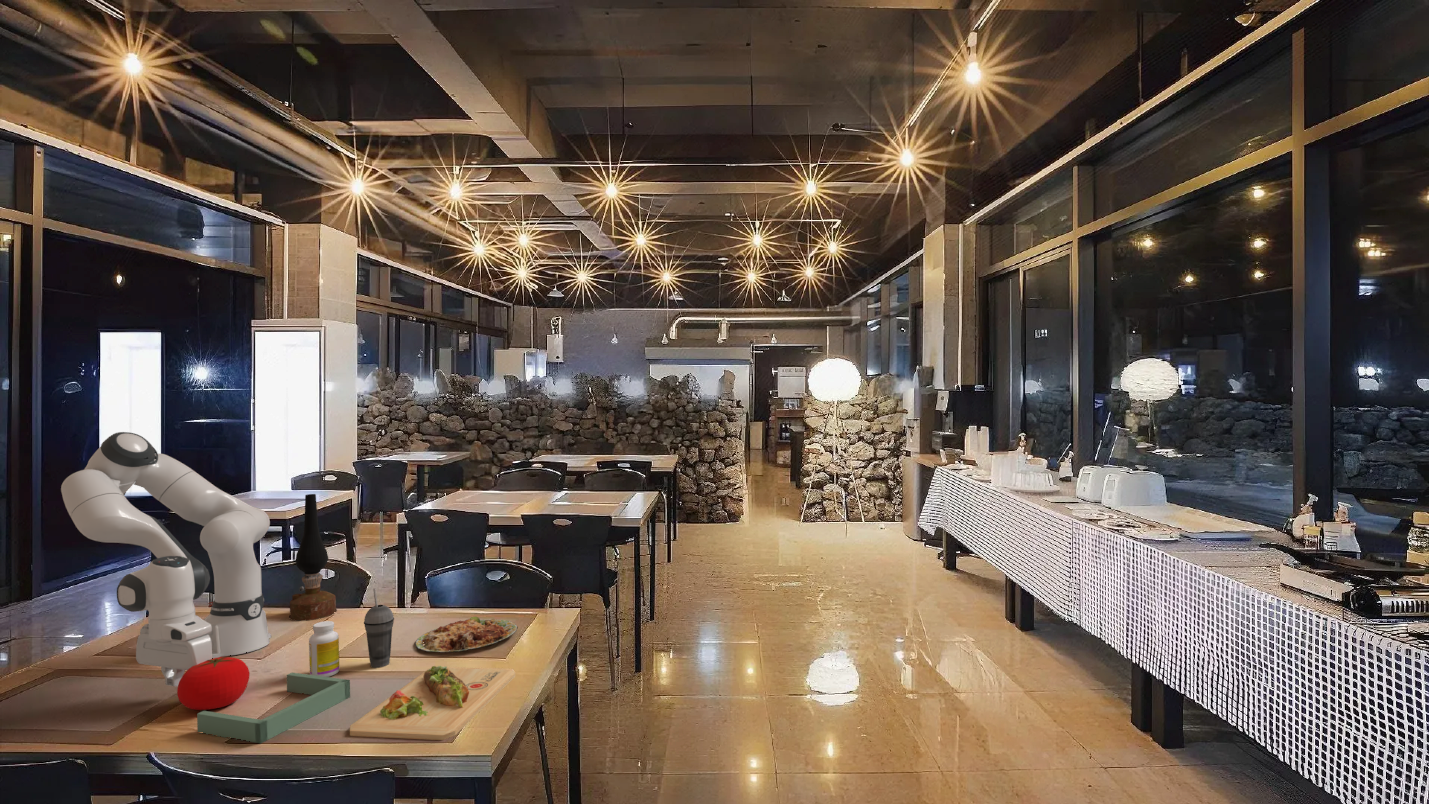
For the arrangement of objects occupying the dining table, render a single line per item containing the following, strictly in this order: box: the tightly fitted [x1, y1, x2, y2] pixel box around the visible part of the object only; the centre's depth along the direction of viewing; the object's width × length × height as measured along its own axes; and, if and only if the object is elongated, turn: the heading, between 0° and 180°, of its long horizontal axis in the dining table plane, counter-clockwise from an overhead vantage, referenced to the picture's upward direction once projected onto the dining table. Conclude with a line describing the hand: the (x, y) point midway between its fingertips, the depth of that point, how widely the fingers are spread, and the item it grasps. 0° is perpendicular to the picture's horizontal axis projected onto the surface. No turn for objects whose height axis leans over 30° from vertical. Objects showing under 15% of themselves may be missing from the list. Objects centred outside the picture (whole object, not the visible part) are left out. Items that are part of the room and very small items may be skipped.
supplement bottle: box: [308, 620, 340, 677], centre depth 180 cm, size 7×7×13 cm
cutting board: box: [349, 665, 516, 741], centre depth 162 cm, size 35×23×8 cm
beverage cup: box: [363, 588, 395, 669], centre depth 186 cm, size 7×7×20 cm
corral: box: [196, 672, 351, 744], centre depth 157 cm, size 18×23×4 cm
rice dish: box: [414, 616, 518, 653], centre depth 205 cm, size 28×28×5 cm
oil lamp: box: [288, 493, 338, 621], centre depth 233 cm, size 14×15×40 cm
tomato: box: [176, 656, 251, 711], centre depth 163 cm, size 14×13×10 cm
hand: (173, 684), depth 167 cm, fingers closed
